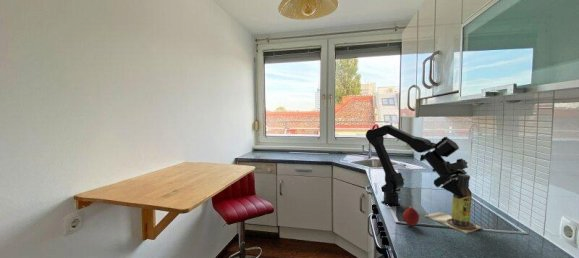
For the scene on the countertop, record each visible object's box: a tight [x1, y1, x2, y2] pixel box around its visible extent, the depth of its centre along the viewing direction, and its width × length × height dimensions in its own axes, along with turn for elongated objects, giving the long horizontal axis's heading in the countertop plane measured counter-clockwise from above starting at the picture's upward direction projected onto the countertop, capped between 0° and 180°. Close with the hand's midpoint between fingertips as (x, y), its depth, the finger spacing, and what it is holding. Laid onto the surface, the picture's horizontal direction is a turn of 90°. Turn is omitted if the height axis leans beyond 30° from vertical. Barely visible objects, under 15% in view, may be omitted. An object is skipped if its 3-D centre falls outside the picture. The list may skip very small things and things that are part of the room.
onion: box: [402, 206, 420, 227], centre depth 102 cm, size 6×6×8 cm
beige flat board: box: [424, 211, 483, 234], centre depth 106 cm, size 17×10×1 cm, turn 24°
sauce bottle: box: [450, 174, 473, 226], centre depth 102 cm, size 6×6×20 cm
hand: (466, 196), depth 101 cm, fingers closed on sauce bottle, 6 cm apart
